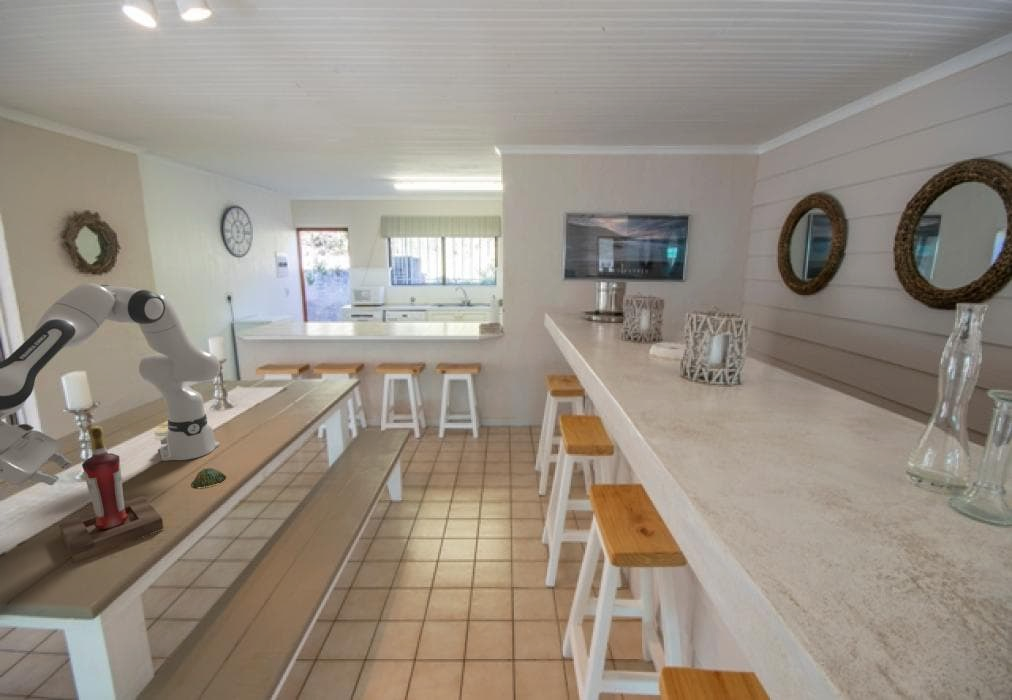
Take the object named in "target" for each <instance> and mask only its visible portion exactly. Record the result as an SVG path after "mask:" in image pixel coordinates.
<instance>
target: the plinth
mask: <svg viewBox="0 0 1012 700" xmlns="http://www.w3.org/2000/svg"><path fill="white" fill-rule="evenodd" d="M124 506H125V513H126V514H127V515H128V518H127V520H126V521H125V522H124V523H123V524H122V525H121V526H118V527H115V528H113V529H110V530H102V529H99V528H96V527H95V524H96V518H95V513H94V511H92V512H89V513H86V514H82V515H80V516H76V517H73V518H70V519H67V520H63V521H60V522H59V527H60V528H59V529H60V532H61V535H62V538H63V541H64V543H65V545H66V547H67V551H68V552H69V555H70V556H71V559H72V561H73V563H74V564H76V563H79V562H81V561H83V560H86V559H89V558H92V557H95V556H97V555H100V554H103V553H105V552H108V551H110V550H113V549H116V548H119V547H121V546H123V544H124V545H126V543H127V544H129V543H131V542H130V541H132V542H134V541H133V540H135V541H137V540H139V539H138V538H140V539H142V538H141V537H143V536H145V537H147V536H146V535H148V536H150V535H149V534H151V533H153V532H155V531H158V530H161V529H163V528H164V523H163V517H162V516H161V515H160V513H158V512H157V510H156V509H155V508H154V507H153V506H152V504H151V503H150V502H149V501H148V500H147V499H146V497H145V496H144V495H142V496H139V497H136V498H133V499H132V498H131V499H129V500H126V501H124ZM161 531H162V530H161ZM153 534H154V533H153ZM151 535H152V534H151ZM143 538H144V537H143ZM136 539H137V540H136ZM128 542H129V543H128ZM120 545H121V546H120ZM118 546H119V547H118ZM115 547H116V548H115Z"/></svg>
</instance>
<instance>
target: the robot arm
mask: <svg viewBox="0 0 1012 700" xmlns="http://www.w3.org/2000/svg"><path fill="white" fill-rule="evenodd" d="M106 320H108V321H113V322H117V323H130V324H138V326H139V328H140V330H141V332H142V334H143V336H144V339H145V340H146V342H147V344H148V346H149V348H151V349H152V350H153V351H155V352H156V353H153V354H147V355H145V356H144V357H143V358H142V359H141V360H140V361H139V364H138V373H139V375H140V377H141V378H142V379H143V380H144V381H146V382H148V383H150V384H152V385H153V387H155V389H157V390H158V391H159V392H160V394H161V395H162V397H163V399H164V401H165V405H166V409H167V415H168V416H167V417H168V420H167V429H168V430H167V431H166V432H165V434H164V437H162V438H160V445H159V455H160V459H161V461H164V462H166V461H187V460H191V459H192V460H193V459H197V458H201V457H203V456H206V455H208V454H211V452H213V451H214V449H216V448H217V447H219V446H220V445H221V444H220V442H219V441H216V440H215V434H214V430H213V427H212V426H211V425H209V424H208V417H207V414H206V413H205V405H204V397H203V395H202V394H201V393H200V392H198V391H197V390H194V389H192V388H191V387H190V386H189V385H188V384H187V383H201V382H207V381H211V380H214V379H216V377H218V375H219V373H220V371H221V362H220V361H219V359H218V358H217V356H216V355H214V354H213V353H210V352H208V351H206V350H204V349H202V348H201V347H199V346H198V345H197V344H196V343H194V341H193V340H191V339H190V338H189V336H188V335H187V333H186V331H185V329H184V327H183V325H182V323H181V321H180V320H181V319H180V318H179V316H178V314H177V312H176V311H175V308H174V307H173V305H171V302H170V301H169V300H168V299H167V297H166V296H165V295H163V294H162V293H158V292H153V291H150V290H147V289H141V288H140V289H139V288H135V287H130V286H118V285H117V286H116V285H107V284H101V285H100V284H98V283H92V282H85V283H81V284H79V285H76V286H74V288H72V289H70V290H69V291H67V292H66V293H65V294H63V295H62V296H61V297H60V298H59V299H58V300H56V301H55V302H54V303H53V304H52V305H51V306H50V307H49V308H48V309H47V310H46V311H45V312H44V313H43V315H42V316H41V318H40V319H39V320H38V323H37V324H36V325H35V330H34V331H33V333H32V334H31V335H30V337H28V339H26V340H25V341H24V342H23V343H22V344H21V345H20V346H19V347H17V349H16V350H14V352H13V353H11V354H10V355H9V356H8V357H7V358H5V359H4V360H2V361H0V480H3V481H4V482H7V483H8V484H11V485H14V486H22V485H23V484H24V483H25V482H26V481H28V480H29V481H32V482H36V483H43V484H47V485H48V486H53V485H54V484H55V483H56V482H57V481H58V480H59V477H58V476H57V475H55V474H52V473H51V475H50V474H48V473H45V472H44V473H43V471H42V470H40V468H41V467H42V466H43V465H44V464H45V463H46V462H47V461H49V462H51V463H53V462H54V463H55V464H57V465H58V468H60V469H63V470H68V469H69V468H70V467H71V466H72V465H73V462H72V461H71V460H69V459H67V458H66V457H65V456H64V455H63V453H61V452H58V451H59V450H60V449H61V448H62V444H61V443H60V442H59V441H58V440H56V439H54V438H53V437H51V436H49V435H47V434H45V433H44V432H42V431H38V430H34V429H35V426H32V425H31V424H28V423H21V424H9V423H7V422H5V421H3V420H4V419H5V418H7V417H9V416H10V415H13V414H14V413H16V412H18V411H19V410H20V409H21V408H22V407H24V405H25V403H26V401H27V400H28V399H29V397H30V396H31V395H32V392H33V391H34V388H35V387H34V386H35V381H36V377H38V375H39V373H40V372H41V371H42V370H43V369H44V368H45V367H46V366H47V365H48V364H49V363H50V362H51V361H52V360H53V358H55V357H56V356H57V354H58V353H60V352H61V351H62V350H64V349H65V348H72V347H73V348H75V347H77V346H79V345H81V344H83V343H84V342H85V341H86V340H88V339H89V338H90V337H91V336H92V335H93V334H94V333H95V332H97V330H98V329H99V328H100V327H101V325H102V324H103V323H104V322H105V321H106Z"/></svg>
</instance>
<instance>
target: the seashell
mask: <svg viewBox="0 0 1012 700" xmlns="http://www.w3.org/2000/svg"><path fill="white" fill-rule="evenodd" d="M226 477H227V476H226V475H225V474H224V473H222V472H221V471H219V469H215V468H212V467H211V468H210V467H209V468H208V467H207V468H203V469H201V470H199V472H198V473H197V475H196V476H195V477H194V480H193V481H192V482H191V484H192V485H193V486H195V487H204V486H205V487H206V486H210V485H213V484H217V483H220V482H222V481H224V480H225V479H226ZM226 480H227V479H226ZM226 480H225V481H226ZM225 481H224V482H225ZM222 483H223V482H222ZM191 484H190V485H191ZM220 484H221V483H220ZM192 485H191V486H192ZM195 487H194V488H195Z"/></svg>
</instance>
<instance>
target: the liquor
mask: <svg viewBox="0 0 1012 700" xmlns="http://www.w3.org/2000/svg"><path fill="white" fill-rule="evenodd" d="M88 435H89V438H90V440H91V453H92V454H91V455H92V456H90V457H89V458H87V459H85V460H84V461H83V462H82V463H81V466H82V470H83V474H84V478H85V482H86V485H87V486H86V487H87V489H88V492H89V496H90V500H91V504H92V508H93V512H94V513H95V518H96V524H95V527H96V528H99V529H102V530H110V529H113V528H115V527H118V526H121V525H122V524H123V523H124V522H125V521H126V520H127V518H128V515H127V514H126V513H125V506H124V502H125V500H124V498H125V497H124V491H123V481H122V480H123V478H122V469H121V459H120V455H118V454H115V453H112V452H110V453H109V452H108V450H107V447H106V443H105V441H104V430H103V425H96V426H91V427H89V428H88Z"/></svg>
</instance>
